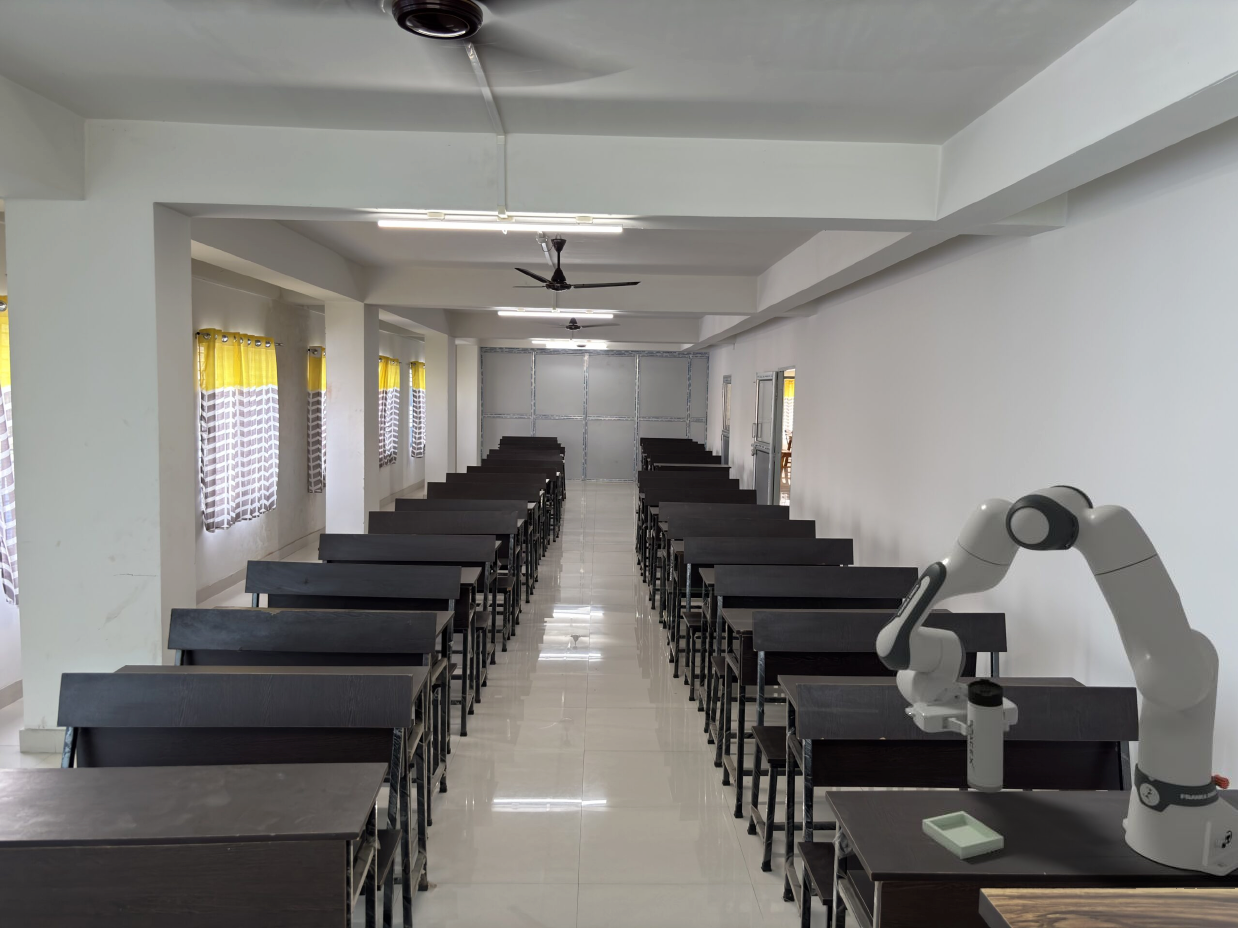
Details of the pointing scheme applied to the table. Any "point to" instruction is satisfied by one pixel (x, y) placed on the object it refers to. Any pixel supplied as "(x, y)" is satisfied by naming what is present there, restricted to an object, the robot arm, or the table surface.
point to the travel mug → (985, 736)
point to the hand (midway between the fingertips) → (987, 729)
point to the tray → (962, 834)
